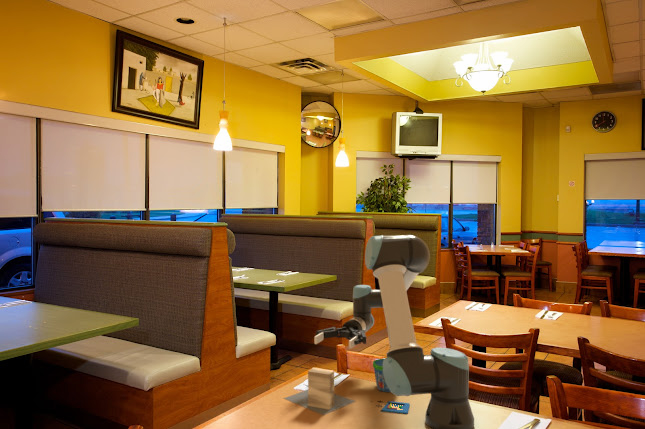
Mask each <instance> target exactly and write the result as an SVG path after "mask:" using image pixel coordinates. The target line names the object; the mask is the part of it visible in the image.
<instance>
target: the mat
mask: <svg viewBox="0 0 645 429" xmlns="http://www.w3.org/2000/svg"><path fill="white" fill-rule="evenodd" d="M283 399H285V400H287V401H289V402H291V403H293V404H296V405H298V406H301V407H303V408H305V409H308V410H310V411H313V412H315V413H317V414H319V415H321V416H325V415H327V414H330V413H331V412H332V413H333V412H334V411H337V410H338V409H341V408H344V407H346V406H347V405H350V404H353V403H355V402H356V400H354V399H351V398H348V397H345V396H343V395H340V394H337V393H335V392H334V406H333V407H332V408H331V409H330V410H329V409H323V408H318V407H313V406H308V389H305V390H302V391H300V392H296V393H295V394H292V395H289V396H287V397H284V398H283Z"/></svg>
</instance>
